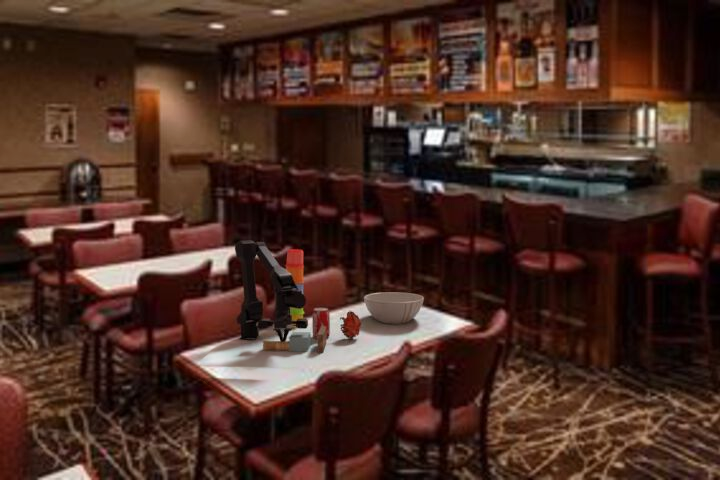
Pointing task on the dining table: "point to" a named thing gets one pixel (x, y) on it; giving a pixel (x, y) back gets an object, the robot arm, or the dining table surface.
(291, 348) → the block
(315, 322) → the soda can
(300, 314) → the stacking cups
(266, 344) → the dowel
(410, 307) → the decorative bowl
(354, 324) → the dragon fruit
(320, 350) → the wall
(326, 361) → the dining table surface
